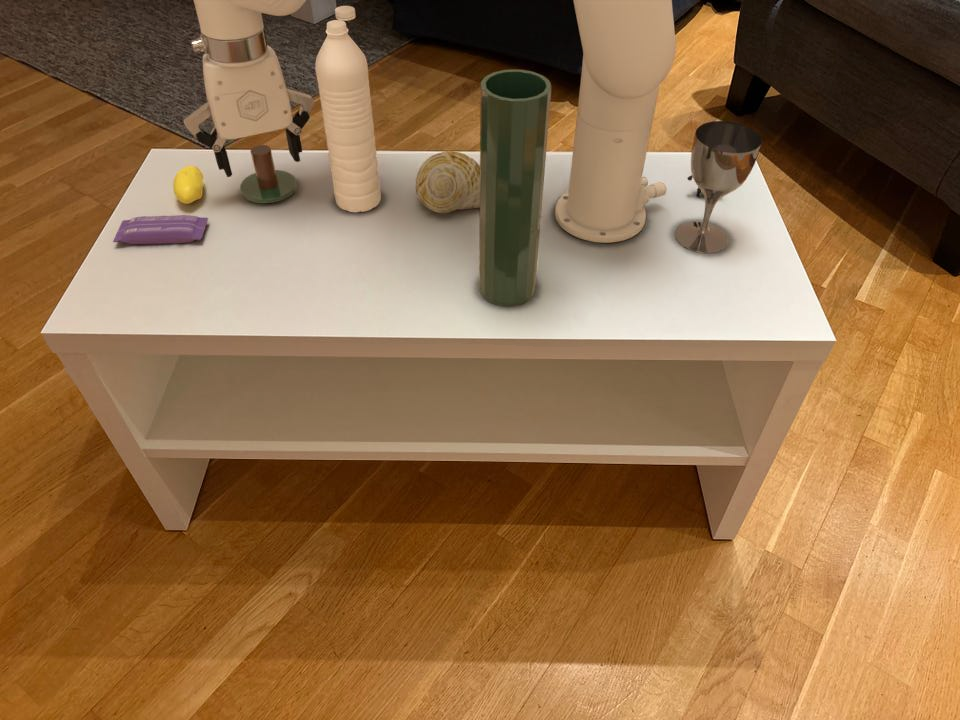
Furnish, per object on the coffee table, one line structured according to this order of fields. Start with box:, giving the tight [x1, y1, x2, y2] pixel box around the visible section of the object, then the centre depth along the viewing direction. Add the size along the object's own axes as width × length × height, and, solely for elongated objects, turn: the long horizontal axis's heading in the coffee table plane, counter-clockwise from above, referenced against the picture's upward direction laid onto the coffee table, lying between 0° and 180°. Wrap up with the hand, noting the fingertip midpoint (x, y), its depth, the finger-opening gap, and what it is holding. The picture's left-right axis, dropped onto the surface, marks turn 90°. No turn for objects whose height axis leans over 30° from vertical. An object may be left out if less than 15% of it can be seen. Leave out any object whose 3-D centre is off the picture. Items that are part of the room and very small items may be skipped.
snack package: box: [112, 214, 209, 245], centre depth 99 cm, size 12×2×5 cm
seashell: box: [415, 150, 480, 214], centre depth 104 cm, size 10×10×10 cm
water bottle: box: [314, 5, 382, 213], centre depth 98 cm, size 9×6×25 cm
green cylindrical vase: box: [478, 69, 552, 307], centre depth 83 cm, size 7×7×26 cm
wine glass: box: [674, 120, 763, 254], centre depth 95 cm, size 8×8×15 cm
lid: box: [239, 144, 298, 204], centre depth 105 cm, size 8×8×7 cm
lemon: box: [172, 165, 205, 205], centre depth 105 cm, size 4×8×4 cm, turn 5°
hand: (261, 164), depth 105 cm, fingers open, 9 cm apart
